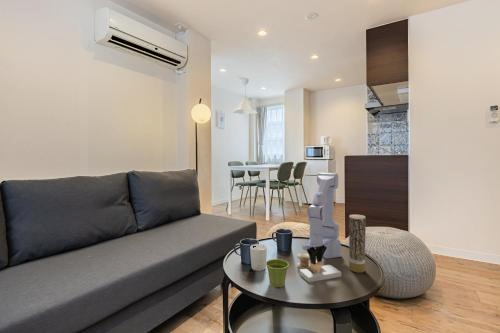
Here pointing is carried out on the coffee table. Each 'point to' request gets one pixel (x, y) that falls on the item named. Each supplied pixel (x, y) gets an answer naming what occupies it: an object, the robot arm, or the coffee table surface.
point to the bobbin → (303, 261)
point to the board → (325, 273)
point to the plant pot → (277, 272)
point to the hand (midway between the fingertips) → (316, 262)
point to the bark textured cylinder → (357, 243)
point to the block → (316, 266)
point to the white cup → (258, 257)
